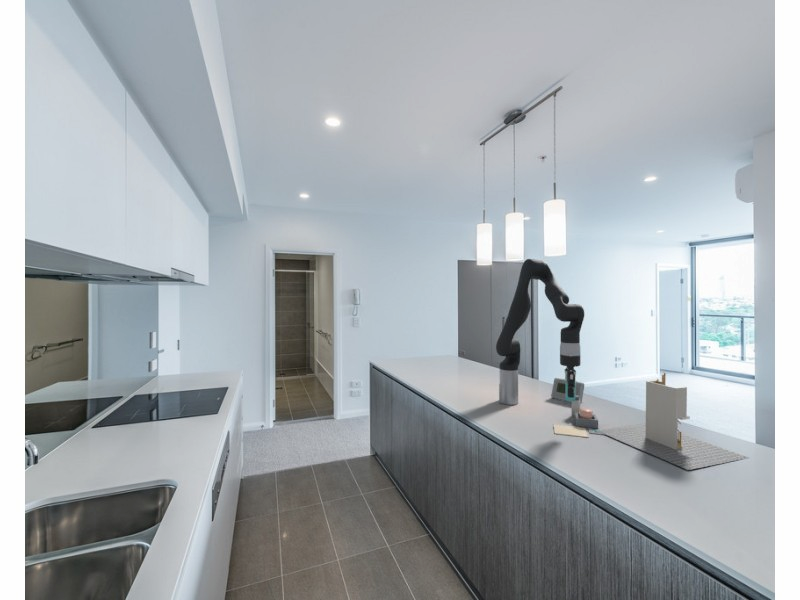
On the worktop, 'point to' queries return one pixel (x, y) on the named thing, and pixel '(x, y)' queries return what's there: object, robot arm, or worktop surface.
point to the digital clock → (560, 390)
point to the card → (593, 431)
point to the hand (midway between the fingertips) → (570, 395)
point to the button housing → (586, 421)
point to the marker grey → (575, 405)
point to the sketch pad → (570, 431)
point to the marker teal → (567, 393)
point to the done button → (586, 413)
